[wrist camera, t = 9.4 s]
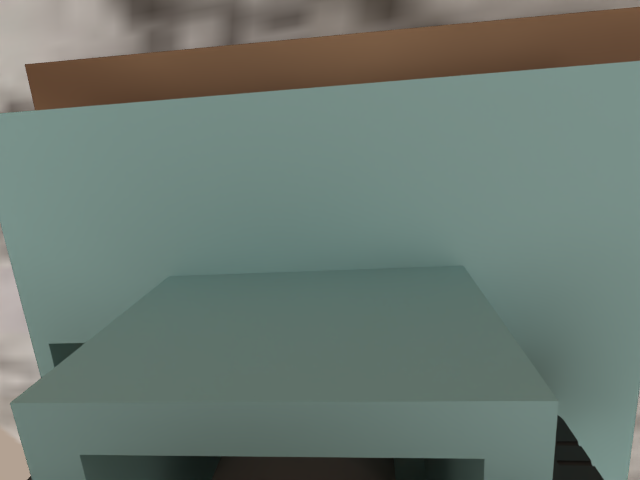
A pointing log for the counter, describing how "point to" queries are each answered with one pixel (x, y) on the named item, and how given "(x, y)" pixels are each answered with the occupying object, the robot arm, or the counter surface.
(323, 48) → the post block
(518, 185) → the flange plate
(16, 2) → the counter surface
